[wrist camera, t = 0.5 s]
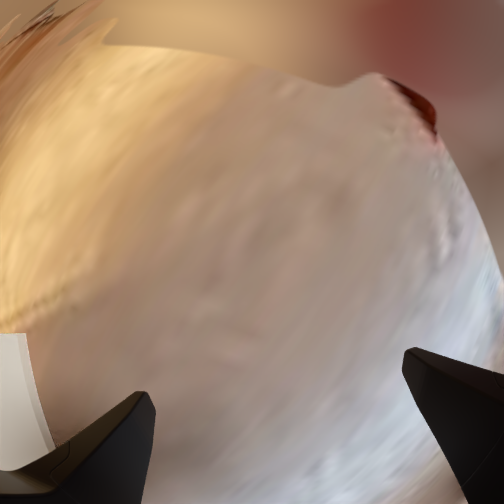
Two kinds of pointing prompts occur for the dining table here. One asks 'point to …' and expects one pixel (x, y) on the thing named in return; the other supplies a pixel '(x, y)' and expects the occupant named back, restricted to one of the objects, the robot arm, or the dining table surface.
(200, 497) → the dining table surface
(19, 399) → the board
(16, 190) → the dining table surface
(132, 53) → the dining table surface
